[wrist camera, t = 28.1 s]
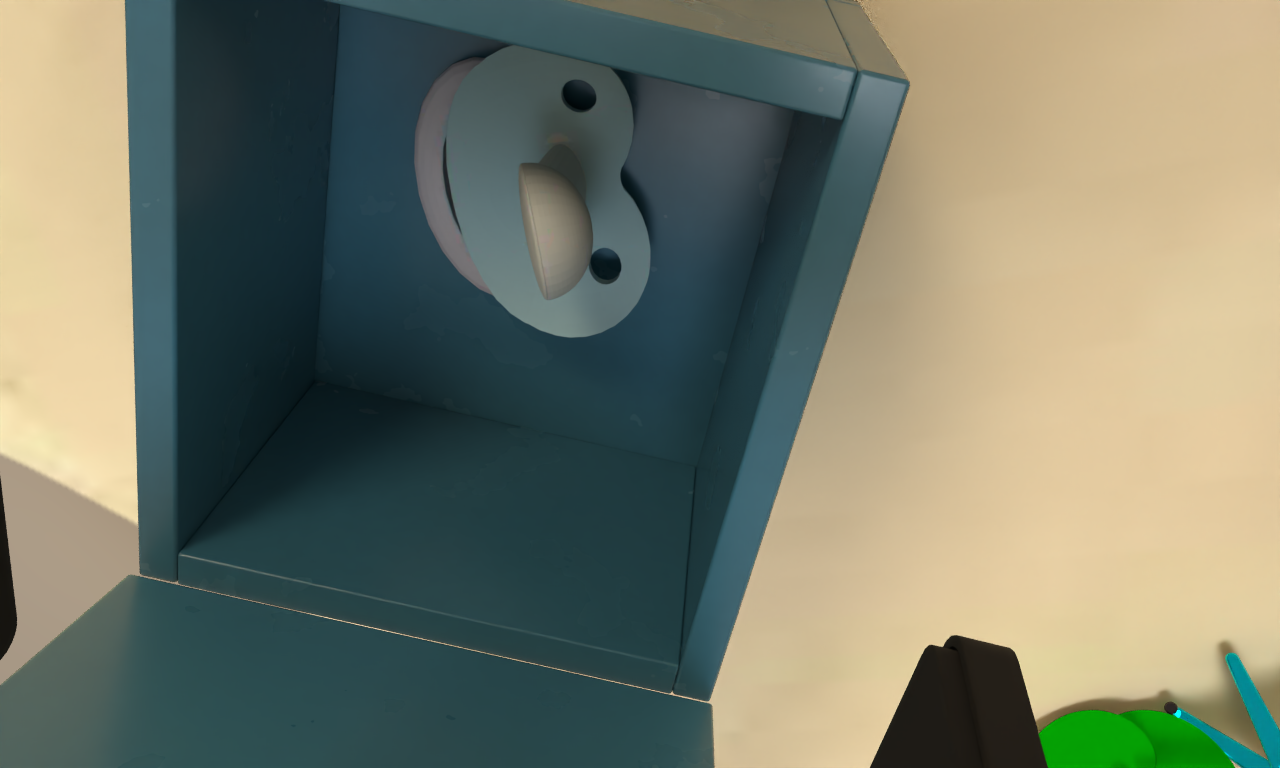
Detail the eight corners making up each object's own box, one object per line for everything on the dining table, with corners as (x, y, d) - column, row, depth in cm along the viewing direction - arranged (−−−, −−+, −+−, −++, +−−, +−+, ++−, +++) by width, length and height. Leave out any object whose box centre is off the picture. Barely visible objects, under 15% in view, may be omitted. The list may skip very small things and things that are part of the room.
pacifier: (454, 311, 30) (665, 295, 29) (379, 420, 24) (636, 405, 23) (393, 43, 26) (628, 14, 25) (290, 100, 21) (584, 66, 20)
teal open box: (324, -124, 25) (119, -103, 17) (859, 1, 26) (912, 81, 17) (295, 384, 32) (137, 576, 24) (719, 480, 32) (709, 704, 24)
